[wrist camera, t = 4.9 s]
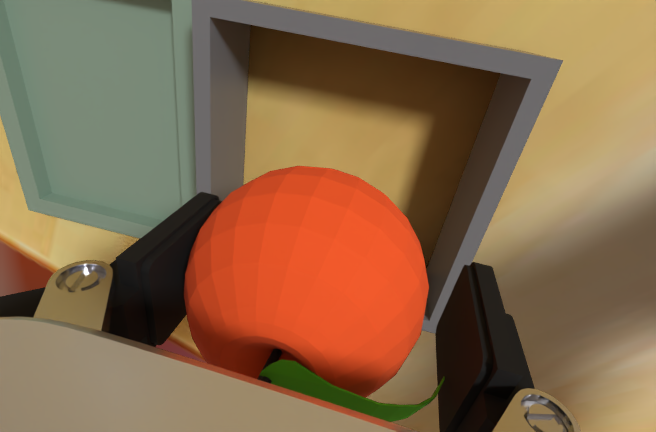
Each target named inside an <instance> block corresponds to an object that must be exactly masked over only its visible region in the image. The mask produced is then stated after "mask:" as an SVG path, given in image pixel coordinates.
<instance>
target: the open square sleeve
mask: <svg viewBox="0 0 656 432" xmlns="http://www.w3.org/2000/svg"><path fill="white" fill-rule="evenodd" d="M191 3H192V40H193V78H194V116H195V154H196V191H197V194H198V193H200V192H205V193H209V194H213V195H217V196H218V197H219V200H220V201H223V200H224V199H225V198H226V197H227V196H228V195H229V194H230V193H231V192H233V191H234V190H236V189H238V188H240V187H241V186H243V178H244V156H245V134H246V113H247V91H248V69H249V47H250V25H255V26H260V27H265V28H270V29H275V30H280V31H286V32H291V33H296V34H301V35H306V36H312V37H317V38H322V39H327V40H332V41H337V42H343V43H348V44H353V45H358V46H363V47H368V48H374V49H379V50H384V51H389V52H394V53H400V54H405V55H410V56H415V57H420V58H425V59H431V60H436V61H441V62H446V63H451V64H456V65H462V66H467V67H472V68H477V69H482V70H487V71H493V72H498V73H501V74H500V77H499V79H498V82H497V85H496V87H495V90H494V93H493V95H492V98H491V101H490V103H489V106H488V109H487V111H486V114H485V116H484V119H483V122H482V124H481V127H480V130H479V132H478V135H477V138H476V140H475V143H474V146H473V148H472V151H471V153H470V156H469V159H468V161H467V164H466V167H465V169H464V172H463V175H462V177H461V180H460V183H459V185H458V188H457V190H456V193H455V196H454V198H453V201H452V204H451V206H450V209H449V212H448V214H447V217H446V220H445V222H444V225H443V227H442V230H441V233H440V235H439V238H438V241H437V243H436V246H435V249H434V251H433V254H432V257H431V259H430V262H429V264H428V267H427V270H426V273H427V278H428V284H429V290H428V296H427V302H426V308H425V314H424V319H423V324H422V330H423V331H427V332H431V333H435V334H436V328H437V324H438V322H439V320H440V317H441V315H442V313H443V311H444V308H445V306H446V304H447V302H448V299H449V297H450V295H451V293H452V291H453V288H454V286H455V284H456V282H457V279H458V277H459V275H460V273H461V270H462V268H463V266H464V265H469V266H470V264H471V263H472V261H473V259H474V256H475V254H476V252H477V250H478V248H479V245H480V243H481V241H482V239H483V237H484V234H485V232H486V230H487V228H488V225H489V223H490V221H491V219H492V217H493V214H494V212H495V210H496V208H497V206H498V203H499V201H500V199H501V197H502V195H503V192H504V190H505V188H506V186H507V184H508V181H509V179H510V177H511V175H512V172H513V170H514V168H515V166H516V164H517V161H518V159H519V157H520V155H521V153H522V150H523V148H524V146H525V144H526V142H527V139H528V137H529V135H530V133H531V131H532V128H533V126H534V124H535V122H536V119H537V117H538V115H539V113H540V111H541V108H542V106H543V104H544V102H545V100H546V97H547V95H548V93H549V91H550V89H551V86H552V84H553V82H554V80H555V78H556V75H557V73H558V71H559V69H560V66H561V64H562V62H563V60H559V59H554V58H550V57H546V56H542V55H537V54H533V53H529V52H524V51H519V50H513V49H508V48H503V47H497V46H492V45H487V44H481V43H476V42H471V41H465V40H460V39H455V38H449V37H444V36H439V35H433V34H428V33H423V32H417V31H412V30H406V29H401V28H396V27H390V26H385V25H380V24H374V23H369V22H364V21H358V20H353V19H348V18H342V17H337V16H332V15H326V14H321V13H316V12H310V11H305V10H300V9H294V8H289V7H284V6H278V5H273V4H268V3H262V2H257V1H251V0H191Z"/></svg>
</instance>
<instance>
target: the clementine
mask: <svg viewBox="0 0 656 432" xmlns="http://www.w3.org/2000/svg"><path fill="white" fill-rule="evenodd" d="M428 290H429V284H428V278H427V273H426V267H425V261H424V257H423V253H422V249H421V245H420V242H419V240H418V238H417V236H416V234H415V232H414V230H413V228H412V226H411V224H410V223H409V221H408V219H407V217H406V216H405V215H404V214H403V213H402V212H401V211H400V210H399V209H398V208H397V207H396V205H395V204H394V203H393V202H392V201H391V200H390V199H389V198H388V197H387V196H386V195H385V194H383V193H382V192H381V191H379V190H378V189H376V188H375V187H373V186H371V185H370V184H368V183H367V182H365V181H364V180H362V179H360V178H359V177H356V176H353V175H350V174H347V173H344V172H341V171H338V170H335V169H330V168H318V167H306V166H295V167H290V168H284V169H279V170H274V171H270V172H268V173H266V174H264V175H262V176H260V177H258V178H256V179H254V180H252V181H250V182H248V183H247V184H245V185H243V186H241V187H240V188H238V189H236V190H234V191H233V192H231V193H230V194H229V195H228V196H227V197H226V198H225V199H224V200H223V201H222V202H221V203H220V204H219V205H218V206H217V208H216V209H215V210H214V211H213V212H212V213H211V215H210V216H209V218H208V219H207V220H206V222H205V223H204V224H203V226H202V227H201V229H200V231H199V233H198V235H197V238H196V240H195V242H194V244H193V247H192V249H191V252H190V256H189V260H188V264H187V269H186V273H185V284H184V300H185V306H186V313H187V319H188V323H189V327H190V331H191V335H192V339H193V340H194V342H195V344H196V346H197V348H198V349H199V351H200V353H201V355H202V356H203V358H204V359H205V361H206V362H207V363H208V364H210V365H214V366H217V367H220V368H223V369H226V370H229V371H233V372H236V373H239V374H242V375H245V376H248V377H251V378H255V379H258V380H261V381H264V382H267V383H270V384H273V385H277V386H280V387H283V388H286V389H289V390H292V391H295V392H298V393H302V394H305V395H308V396H311V397H314V398H317V399H320V400H323V401H326V402H330V403H333V404H336V405H339V406H342V407H345V408H348V409H351V410H354V411H357V412H360V413H363V414H366V415H370V416H373V417H376V418H379V419H382V420H385V421H388V422H392V421H397V420H401V419H405V418H408V417H409V416H411V415H412V414H414V413H415V412H417V411H418V410H420V409H421V408H423V407H424V406H426V405H427V404H429V403H430V402H431V401H432V400H433V399H434V398H435V397H436V396H437V394H438V392H439V390H440V388H441V386H442V384H443V381H444V379H445V376H444V377H443V379H442V380H441V382H440V384H439V385H438V387H437V388H436V390H435V392H434V393H433V395H432V397H431V398H429V399H427V400H425V401H423V402H421V403H420V404H415V405H397V404H385V403H378V402H375V401H373V400H370V399H367V398H366V397H367V396H369V395H370V394H372V393H373V392H375V391H376V390H378V389H379V388H380V387H381V386H383V385H384V384H385V383H386V382H388V381H389V380H390V379H391V378H392V377H394V376H395V375H396V373H397V372H398V370H399V369H400V367H401V366H402V364H403V363H404V361H405V360H406V358H407V356H408V355H409V353H410V352H411V350H412V348H413V346H414V345H415V343H416V341H417V340H418V338H419V336H420V335H421V330H422V324H423V319H424V314H425V308H426V302H427V296H428Z"/></svg>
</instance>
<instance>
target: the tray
mask: <svg viewBox="0 0 656 432" xmlns="http://www.w3.org/2000/svg"><path fill="white" fill-rule="evenodd" d="M0 115H1V119H2V122H3V126H4V129H5V132H6V136H7V139H8V142H9V146H10V149H11V152H12V156H13V159H14V163H15V166H16V169H17V173H18V176H19V179H20V183H21V186H22V190H23V193H24V196H25V200H26V203H27V206H28V210H30V211H34V212H38V213H42V214H46V215H50V216H54V217H58V218H62V219H66V220H70V221H74V222H78V223H82V224H85V225H89V226H93V227H97V228H101V229H105V230H109V231H113V232H117V233H121V234H125V235H129V236H133V237H137V238H142V237H143V236H144V235H146V234H147V233H148V232H150V231H151V230H152V229H153V228H155V227H156V226H157V225H158V224H160V223H161V222H162V221H164V220H165V219H166V218H167V217H169V216H170V215H171V214H173V213H174V212H175V211H176V210H178V209H179V208H180V207H182V206H183V205H184V204H185V203H187V202H188V201H189V200H191V199H192V198H193V197H194V196H196V195H197V191H196V154H195V116H194V78H193V40H192V3H191V0H0Z"/></svg>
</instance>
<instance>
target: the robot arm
mask: <svg viewBox="0 0 656 432" xmlns="http://www.w3.org/2000/svg"><path fill="white" fill-rule="evenodd" d="M221 202H222V201H220V200H219V197H218V196H217V195H213V194H209V193H205V192H200V193H198V194H197V195H196V196H194V197H193V198H192V199H191V200H189V201H188V202H187V203H185V204H184V205H183V206H182V207H180V208H179V209H178V210H176V211H175V212H174V213H173V214H171V215H170V216H169V217H167V218H166V219H165V220H164V221H162V222H161V223H160V224H158V225H157V226H156V227H155V228H153V229H152V230H151V231H150V232H148V233H147V234H146V235H144V236H143V237H142V238H141V239H139V240H138V241H137V242H135V243H134V244H133V245H132V246H130V247H129V248H128V249H126V250H125V251H124V252H123V253H121V254H120V255H119V256H117V257H116V260H115V261H114V262H112V263H111V264H110V265H108V264H107V263H105V262H102V261H97V260H86V261H79V262H75V263H72V264H69V265H67V266H65V267H63V268H61V269H59V270H58V271H57V272H55V273H54V274H53V275H52V277H51V278H50V279H49V281H48V283H47V286H46V287H45V288H40V289H35V290H31V291H26V292H21V293H16V294H11V295H6V296H2V297H0V432H418V431H415V430H412V429H409V428H406V427H403V426H400V425H397V424H394V423H391V422H388V421H385V420H382V419H379V418H376V417H373V416H370V415H366V414H363V413H360V412H357V411H354V410H351V409H348V408H345V407H342V406H339V405H336V404H333V403H330V402H326V401H323V400H320V399H317V398H314V397H311V396H308V395H305V394H302V393H298V392H295V391H292V390H289V389H286V388H283V387H280V386H277V385H273V384H270V383H267V382H264V381H261V380H258V379H255V378H251V377H248V376H245V375H242V374H239V373H236V372H233V371H229V370H226V369H223V368H220V367H217V366H214V365H210V364H207V363H204V362H201V361H198V360H194V359H191V358H188V357H185V356H181V355H179V354H175V353H172V352H169V351H166V350H163V349H159V348H156V345H161V344H163V343H164V342H165V341H166V340H167V338H168V337H169V336H170V335H171V333H172V332H173V331H174V330H175V328H176V327H177V326H178V324H179V323H180V322H181V321H182V319H183V318H184V317H185V316H186V314H187V313H186V306H185V300H184V284H185V273H186V269H187V264H188V260H189V256H190V252H191V249H192V247H193V244H194V242H195V240H196V238H197V235H198V233H199V231H200V229H201V227H202V226H203V224H204V223H205V222H206V220H207V219H208V218H209V216H210V215H211V213H212V212H213V211H214V210H215V209H216V208H217V206H218V205H219V204H220V203H221ZM436 357H437V380H438V385H439V384H440V382H441V380H442V379H443V377H444V376H445V379H444V381H443V384H442V386H441V388H440V390H439V392H438V403H439V426H440V432H581V430H580V426H579V425H578V423H577V421H576V419H575V418H574V416H573V415H572V414H571V412H570V411H569V410H568V409H567V408H566V407H565V406H564V405H563V404H562V403H561V402H559V401H558V400H557V399H556V398H554V397H552V396H551V395H549V394H547V393H545V392H543V391H540V390H537V389H535V388H534V385H533V382H532V378H531V375H530V372H529V369H528V365H527V362H526V359H525V355H524V352H523V349H522V346H521V342H520V339H519V336H518V333H517V329H516V326H515V323H514V320H513V318H512V316H511V315H509V314H506V313H505V310H504V306H503V303H502V299H501V296H500V292H499V289H498V285H497V282H496V278H495V275H494V271H493V268H492V267H491V266H487V265H483V264H479V263H475V262H472V263H471V264H470V266H469V265H464V266H463V268H462V270H461V273H460V275H459V277H458V279H457V282H456V284H455V286H454V288H453V291H452V293H451V295H450V297H449V299H448V302H447V304H446V306H445V308H444V311H443V313H442V315H441V317H440V320H439V322H438V324H437V328H436Z"/></svg>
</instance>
